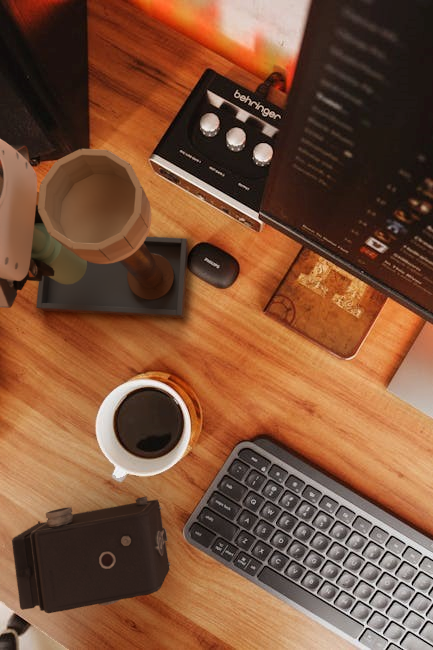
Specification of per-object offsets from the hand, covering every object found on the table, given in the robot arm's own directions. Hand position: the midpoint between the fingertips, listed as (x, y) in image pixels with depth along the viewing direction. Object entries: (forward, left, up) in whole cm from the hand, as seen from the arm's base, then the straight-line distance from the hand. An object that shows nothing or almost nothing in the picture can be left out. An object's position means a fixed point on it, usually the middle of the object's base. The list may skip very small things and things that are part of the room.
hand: (41, 246), depth 55 cm
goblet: (+9, 0, -13) cm, 16 cm away
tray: (+4, 0, -14) cm, 14 cm away
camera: (+6, -31, -14) cm, 34 cm away
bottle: (0, 0, -8) cm, 8 cm away
